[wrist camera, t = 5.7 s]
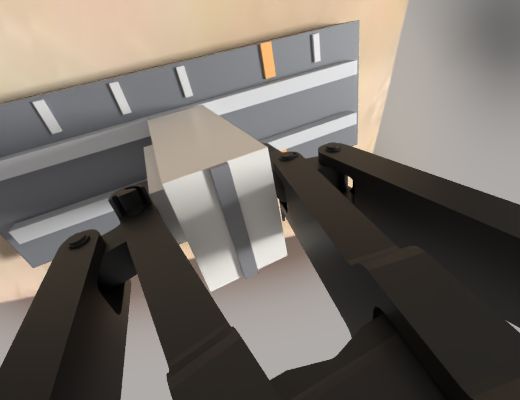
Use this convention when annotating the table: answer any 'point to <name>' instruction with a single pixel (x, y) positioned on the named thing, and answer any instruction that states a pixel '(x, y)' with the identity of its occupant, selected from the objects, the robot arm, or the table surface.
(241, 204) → the fader knob
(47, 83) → the table surface
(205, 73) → the slider board
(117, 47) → the table surface
